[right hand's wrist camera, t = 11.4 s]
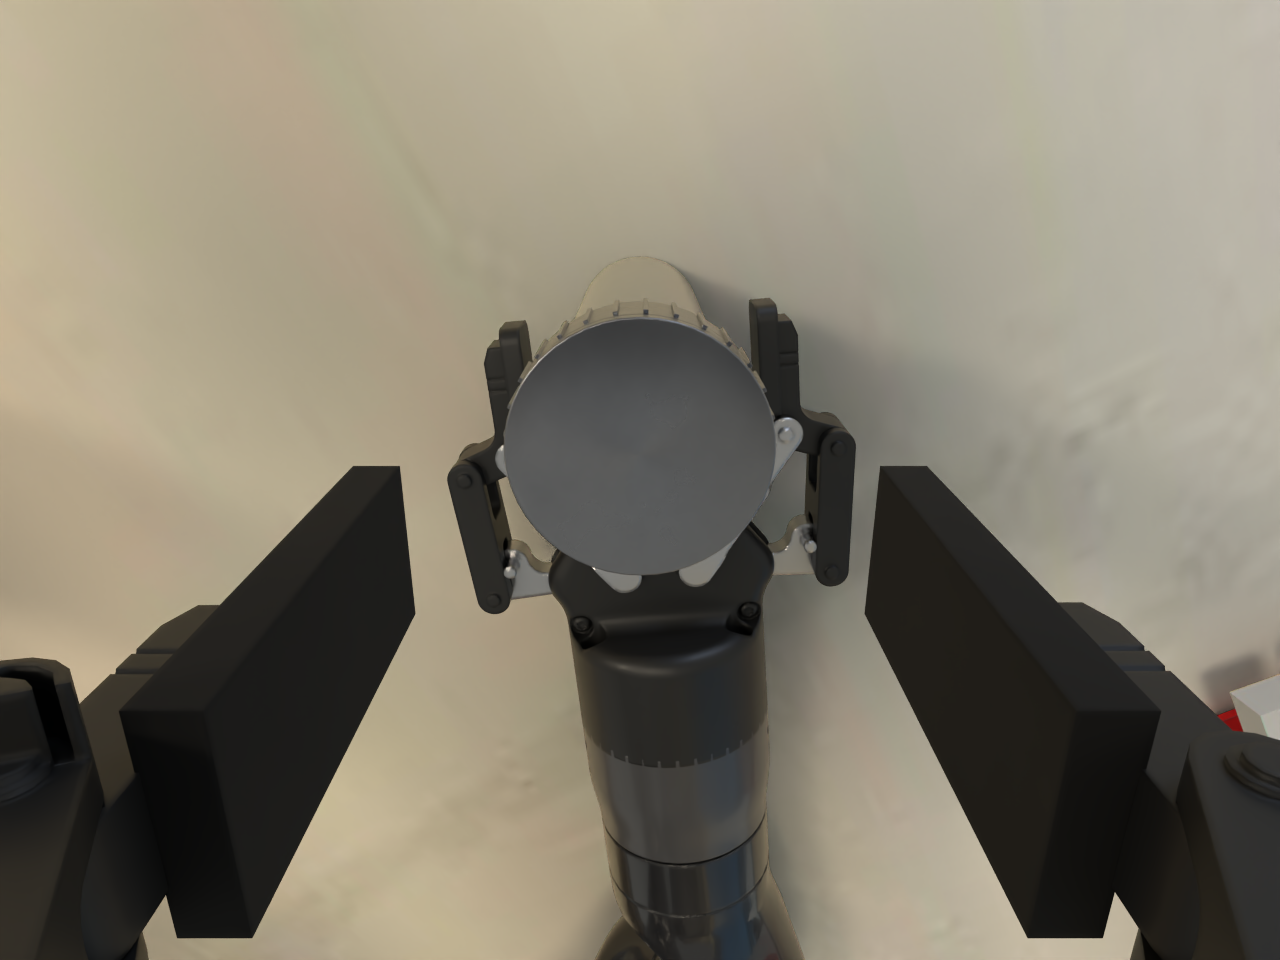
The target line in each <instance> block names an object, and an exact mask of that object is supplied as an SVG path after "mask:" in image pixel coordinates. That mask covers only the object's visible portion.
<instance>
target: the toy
mask: <svg viewBox="0 0 1280 960" xmlns="http://www.w3.org/2000/svg"><path fill="white" fill-rule="evenodd" d="M1230 695H1231V698H1232V701H1233V704H1234V706H1235V709H1233V710H1230V711H1228V712H1225V713H1222V714H1220V715H1217V716H1218V717H1219V718H1220V719H1221V720H1222V721H1223V722H1224V723H1225V724H1226V725H1227V726H1229V727H1230V728H1231V729H1232V730H1233V731H1241V732H1250V733H1257V734H1260V735H1264V736H1267V737H1271V738H1274V739H1277V740H1280V674H1278V675H1275V676H1273V677H1270V678H1267V679H1264V680H1262V681H1259V682H1256V683H1253V684H1250V685H1248V686H1245V687H1242V688H1239V689H1236V690H1234V691H1231V692H1230Z"/></svg>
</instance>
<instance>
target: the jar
mask: <svg viewBox="0 0 1280 960" xmlns="http://www.w3.org/2000/svg"><path fill="white" fill-rule="evenodd" d="M643 298H648V302H659V303H664V304H669V305H671V303H672V302H674V303H676V305H677V307H679V308H682V309H685V310H688V311H690V312H692V313H694V314H696V315H697V314H698V312H700V313H702V314H703V312H702V310H701V308H700V305H699V303H698V301H697V298H696V296H695V294H694V292H693V289H692V287H691V286H690V284H689V282H688V281H687V280H686V278H685V277H684V276H683V275H682V274H681V273H680V272H679V271H678V270H677V269H675V268H674V267H673V266H671V265H670V264H668V263H666V262H664V261H661V260H658V259H655V258H650V257H641V256H639V257H630V258H625V259H622V260H619V261H616V262H614V263H612V264H610V265H609V266H607V267H606V268H605V269H603V270H602V271H601V272H600V273H599V274H598V275H597V276H596V277H595V278H594V280H593V281H592V282H591V284H590V286H589V287H588V289H587V292H586V294H585V296H584V298H583V301H582V303H581V305H580V308H579V310H578V312H577V315H576V317H575V319H576V318H578V317H580V316H582V315H584V314H586V311H587V309H588V308H592V310H595V309H598V308H601V307H604V306H607V305H612V304H614V301H615V300H619V302H620V303H621V302H633V301H643ZM703 316H704V315H703ZM704 319H705V317H704Z"/></svg>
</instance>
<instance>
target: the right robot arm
mask: <svg viewBox="0 0 1280 960" xmlns="http://www.w3.org/2000/svg"><path fill="white" fill-rule="evenodd" d="M414 615H415V606H414V596H413V587H412V577H411V568H410V559H409V549H408V540H407V530H406V521H405V511H404V502H403V493H402V483H401V474H400V466H353V467H352V468H351V469H350V470H349V471H348V472H347V473H346V474H345V475H344V476H343V477H342V478H341V479H340V480H339V481H338V483H337V484H336V485H335V486H334V487H333V488H332V489H331V490H330V491H329V492H328V493H327V494H326V495H325V496H324V497H323V498H322V499H321V500H320V501H319V502H318V503H317V504H316V505H315V506H314V508H313V509H312V510H311V511H310V512H309V513H308V514H307V515H306V516H305V517H304V518H303V519H302V520H301V521H300V522H299V523H298V524H297V525H296V526H295V527H294V528H293V529H292V530H291V532H290V533H289V534H288V535H287V536H286V537H285V538H284V539H283V540H282V541H281V542H280V543H279V544H278V545H277V546H276V547H275V548H274V549H273V550H272V551H271V552H270V553H269V554H268V556H267V557H266V558H265V559H264V560H263V561H262V562H261V563H260V564H259V565H258V566H257V567H256V568H255V569H254V570H253V571H252V572H251V573H250V574H249V575H248V576H247V577H246V578H245V580H244V581H243V582H242V583H241V584H240V585H239V586H238V587H237V588H236V589H235V590H234V591H233V592H232V593H231V594H230V595H229V596H228V597H227V598H226V599H225V600H224V601H223V602H222V604H221V605H198V606H196V607H194V608H192V609H191V610H189V611H187V612H185V613H183V614H182V615H180V616H178V617H176V618H174V619H172V620H171V621H169V622H167V623H165V624H163V625H161V626H160V627H159V628H158V629H157V630H156V631H155V632H154V633H153V634H152V635H151V636H150V637H149V638H148V639H147V640H146V641H145V642H144V643H143V644H142V645H141V646H139V647H138V648H137V652H136V654H131V655H130V656H129V657H128V658H127V659H126V660H125V661H124V662H123V663H122V664H121V665H120V666H119V667H118V668H117V669H116V673H115V674H110V675H109V676H108V677H107V678H106V679H105V680H104V681H103V682H102V683H101V684H100V685H99V686H98V687H97V688H96V689H95V690H94V691H93V692H91V693H90V694H89V695H88V696H87V697H86V698H85V699H84V700H83V701H82V702H81V703H80V704H79V701H78V698H77V694H76V690H75V687H74V683H73V680H72V676H71V672H70V669H69V668H67V667H66V666H64V665H63V664H61V663H59V662H58V661H56V660H48V659H40V658H24V659H14V660H4V661H0V960H149V959H148V952H147V947H146V943H145V940H144V936H143V933H142V931H143V929H144V928H145V926H146V925H147V923H148V922H149V920H150V918H151V917H152V915H153V914H154V912H155V911H156V909H157V908H158V906H159V905H160V903H161V902H162V900H163V898H164V897H165V895H166V897H167V901H168V905H169V908H170V912H171V916H172V920H173V924H174V928H175V932H176V936H177V938H253V936H254V934H255V932H256V930H257V928H258V926H259V924H260V922H261V920H262V918H263V916H264V914H265V912H266V910H267V908H268V906H269V904H270V902H271V900H272V898H273V896H274V894H275V892H276V890H277V888H278V886H279V884H280V882H281V880H282V878H283V876H284V874H285V872H286V870H287V868H288V866H289V864H290V862H291V860H292V858H293V856H294V854H295V852H296V850H297V848H298V846H299V844H300V842H301V840H302V838H303V836H304V834H305V832H306V830H307V828H308V826H309V824H310V822H311V820H312V818H313V816H314V814H315V812H316V810H317V808H318V806H319V804H320V802H321V800H322V798H323V796H324V794H325V792H326V790H327V788H328V787H329V785H330V783H331V781H332V779H333V777H334V775H335V773H336V771H337V769H338V767H339V765H340V763H341V761H342V759H343V757H344V755H345V753H346V751H347V749H348V747H349V745H350V743H351V741H352V739H353V737H354V735H355V733H356V731H357V729H358V727H359V725H360V723H361V721H362V719H363V717H364V715H365V713H366V711H367V709H368V707H369V705H370V703H371V701H372V699H373V697H374V695H375V693H376V691H377V689H378V687H379V685H380V683H381V681H382V679H383V677H384V675H385V673H386V671H387V669H388V667H389V665H390V663H391V661H392V659H393V657H394V655H395V653H396V651H397V649H398V647H399V645H400V643H401V641H402V639H403V637H404V635H405V633H406V631H407V629H408V627H409V625H410V623H411V621H412V619H413V617H414ZM865 615H866V617H867V619H868V621H869V623H870V625H871V627H872V629H873V631H874V633H875V635H876V637H877V639H878V641H879V643H880V645H881V647H882V649H883V651H884V653H885V655H886V657H887V659H888V661H889V663H890V665H891V667H892V669H893V671H894V673H895V675H896V677H897V679H898V681H899V683H900V685H901V687H902V689H903V691H904V693H905V695H906V697H907V699H908V701H909V703H910V705H911V707H912V709H913V711H914V713H915V715H916V717H917V719H918V721H919V723H920V725H921V727H922V729H923V731H924V733H925V735H926V737H927V739H928V741H929V743H930V745H931V747H932V749H933V751H934V753H935V755H936V757H937V759H938V761H939V763H940V765H941V767H942V769H943V771H944V773H945V775H946V777H947V779H948V781H949V783H950V785H951V787H952V788H953V790H954V792H955V794H956V796H957V798H958V800H959V802H960V804H961V806H962V808H963V810H964V812H965V814H966V816H967V818H968V820H969V822H970V824H971V826H972V828H973V830H974V832H975V834H976V836H977V838H978V840H979V842H980V844H981V846H982V848H983V850H984V852H985V854H986V856H987V858H988V860H989V862H990V864H991V866H992V868H993V870H994V872H995V874H996V876H997V878H998V880H999V882H1000V884H1001V886H1002V888H1003V890H1004V892H1005V894H1006V896H1007V898H1008V900H1009V902H1010V904H1011V906H1012V908H1013V910H1014V912H1015V914H1016V916H1017V918H1018V920H1019V922H1020V924H1021V926H1022V928H1023V930H1024V932H1025V934H1026V936H1027V938H1103V936H1104V932H1105V928H1106V924H1107V920H1108V916H1109V912H1110V908H1111V905H1112V901H1113V897H1114V893H1116V894H1117V896H1118V897H1119V899H1120V900H1121V902H1122V903H1123V905H1124V906H1125V908H1126V909H1127V911H1128V912H1129V914H1130V915H1131V917H1132V918H1133V920H1134V922H1135V923H1136V925H1137V926H1138V928H1139V929H1138V933H1137V936H1136V940H1135V943H1134V947H1133V951H1132V954H1131V958H1130V960H1280V740H1277V739H1274V738H1271V737H1267V736H1264V735H1260V734H1257V733H1250V732H1241V731H1233V730H1232V729H1231V728H1230V727H1229V726H1227V725H1226V724H1225V723H1224V722H1223V721H1222V720H1221V719H1220V718H1219V717H1218V716H1217V715H1216V714H1215V713H1214V712H1213V711H1212V710H1211V709H1210V708H1209V707H1208V706H1206V705H1205V704H1204V703H1203V702H1202V701H1201V700H1200V699H1199V698H1198V697H1197V696H1196V695H1195V694H1194V693H1193V692H1192V691H1191V690H1190V689H1189V688H1188V687H1186V686H1185V685H1184V684H1183V683H1182V682H1181V681H1180V680H1179V679H1178V678H1177V677H1176V676H1175V675H1174V674H1173V673H1172V672H1171V671H1165V666H1164V665H1163V664H1162V663H1161V662H1160V661H1159V660H1158V659H1157V658H1156V657H1155V656H1154V655H1153V654H1152V653H1151V652H1150V651H1145V650H1144V646H1143V645H1142V644H1141V643H1140V642H1139V641H1138V640H1137V639H1136V638H1135V637H1134V636H1133V635H1132V634H1131V633H1130V632H1129V631H1128V630H1127V629H1125V628H1124V627H1123V626H1122V625H1121V624H1120V623H1119V622H1117V621H1115V620H1114V619H1112V618H1110V617H1108V616H1106V615H1104V614H1102V613H1101V612H1099V611H1097V610H1095V609H1093V608H1091V607H1090V606H1088V605H1086V604H1084V603H1058V602H1057V601H1056V600H1055V599H1054V598H1053V597H1052V596H1051V595H1050V594H1049V593H1048V592H1047V591H1046V590H1045V589H1044V588H1043V587H1042V586H1041V585H1040V584H1039V583H1038V582H1037V581H1036V580H1035V578H1034V577H1033V576H1032V575H1031V574H1030V573H1029V572H1028V571H1027V570H1026V569H1025V568H1024V567H1023V566H1022V565H1021V564H1020V563H1019V562H1018V561H1017V560H1016V559H1015V558H1014V557H1013V556H1012V554H1011V553H1010V552H1009V551H1008V550H1007V549H1006V548H1005V547H1004V546H1003V545H1002V544H1001V543H1000V542H999V541H998V540H997V539H996V538H995V537H994V536H993V535H992V534H991V533H990V532H989V530H988V529H987V528H986V527H985V526H984V525H983V524H982V523H981V522H980V521H979V520H978V519H977V518H976V517H975V516H974V515H973V514H972V513H971V512H970V511H969V510H968V509H967V508H966V506H965V505H964V504H963V503H962V502H961V501H960V500H959V499H958V498H957V497H956V496H955V495H954V494H953V493H952V492H951V491H950V490H949V489H948V488H947V487H946V486H945V485H944V484H943V483H942V481H941V480H940V479H939V478H938V477H937V476H936V475H935V474H934V473H933V472H932V471H931V470H930V469H929V468H928V467H927V466H880V474H879V483H878V493H877V502H876V511H875V521H874V530H873V540H872V549H871V558H870V568H869V577H868V587H867V596H866V606H865Z"/></svg>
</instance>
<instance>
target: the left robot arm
mask: <svg viewBox="0 0 1280 960" xmlns="http://www.w3.org/2000/svg"><path fill="white" fill-rule="evenodd" d="M749 320H750V340H751V360H752V365H753V366H752V371H756V372H757V374H758V375H759V377H760V379H761V381H762V382H763V384H764V386H765V388H766V390H767V392H765V393H764V394H765V396H766V398H767V401H768V403H769V406H770V408H771V410H772V412H773V414H774V416H775V419H774V420H773V421H774V427H775V434H776V443H777V446H776V457H775V465H774V471H773V475H772V479H771V483H770V486H769V489H768V491H767V493H766V496H765V498H764V501H765V499H766V498H767V496H768V494H769V492H770V489H771V485H772V483H773V481H774V479H775V477H776V476H777V475H778V473H779V472H780V471H781V469H782V468H783V466H784V465H785V464H786V462H787V461H788V459H789V458H790V457H791V455H792V454H793V453H794V451H799V452H803V453H807V465H806V491H805V514H803V515H798V516H796V517H794V518H793V519H791V521H790V522H789V524H788V526H787V531H786V534H785V535H784V537H783V538H782V539H781V540H779V541H777V542H774V543H769V542H768V540H767V539H766V537H765V536H764V535H763V533H762V532H761V531H760V530H759V529H758V528H757V527H756V526H755V525H754V523H753V522H752V521H750V523H749V524H748V525H747V526H746V528H745V529H744V530H743V531H742V532H741V533H740V534H739V535H738V536H737V537H736V538H735V539H734V540H733V541H732V542H731V543H729V544H728V545H727V546H725V547H724V548H723V549H722V550H720V551H719V552H717V553H716V554H714V555H712V556H711V557H709V558H707V559H705V560H703V561H701V562H699V563H697V564H694V565H692V566H690V567H687V568H683V569H680V570H677V571H674V572H668V573H663V574H657V575H641V576H640V575H623V574H618V573H612V572H607V571H603V570H600V569H597V568H593V567H590V566H588V565H586V564H583V563H581V562H579V561H577V560H575V559H573V558H571V557H570V556H568V555H566V554H564V553H563V552H561V551H560V550H558V549H557V550H556V551H555V553H554V555H553V557H552V561H551V562H542V561H539V560H538V559H536V558H535V557H534V556H533V554H532V552H531V550H530V548H529V546H528V545H527V544H526V543H524V542H523V541H520V540H512V538H511V534H510V529H509V525H508V521H507V516H506V512H505V508H504V503H503V499H502V495H501V490H500V486H499V482H498V480H500V479H502V478H504V477H506V476H507V477H508V475H507V472H506V465H505V458H504V436H503V432H504V430H505V427H506V420H507V417H508V413H509V410H510V409H508V408H507V407H508V404H509V402H510V400H511V399H512V397H513V395H514V393H515V391H516V390H517V388H518V386H520V384H521V383H520V382H518V380H519V378H520V376H521V374H522V373H523V371H524V369H525V367H526V366H527V364H528V362H529V361H530V362H533V360H532V353H531V346H530V339H529V332H528V327H527V323H526V321H525V320H524V321H514V322H505V323H504V325H503V326H502V327H501V328H500V330H499V340H494V341H493V342H492V344H491V345H490V346H489V347H488V349H487V353H486V357H485V361H484V366H485V373H486V379H487V385H488V390H489V397H490V403H491V409H492V416H493V422H494V428H495V435H494V436H493V437H492V438H490V439H488V440H486V441H483V442H481V443H479V444H478V443H473V444H470V445H468V446H466V447H465V448H464V450H463V451H462V453H461V454H460V456H459V459H458V461H457V463H456V464H455V465H454V466H453V467H452V469H451V470H450V472H449V474H448V477H447V481H448V486H449V490H450V494H451V498H452V502H453V506H454V510H455V514H456V517H457V521H458V525H459V529H460V533H461V537H462V541H463V545H464V549H465V553H466V557H467V561H468V565H469V569H470V573H471V577H472V581H473V584H474V588H475V592H476V596H477V600H478V604H479V606H480V607H481V608H482V609H483V610H484V611H485V612H488V613H490V614H499V613H502V612H504V611H505V610H506V609H507V608H508V607H509V604H510V601H511V600H513V599H520V598H527V597H534V596H541V595H548V594H553V595H554V597H555V598H556V599H557V600H558V601H559V603H560V604H561V605H562V607H563V609H564V610H565V613H566V615H567V619H568V624H569V631H570V638H571V645H572V652H573V659H574V666H575V673H576V680H577V687H578V694H579V700H580V708H581V715H582V722H583V729H584V736H585V742H586V749H587V756H588V763H589V769H590V774H591V779H592V783H593V786H594V790H595V793H596V796H597V799H598V802H599V805H600V809H601V813H602V820H603V827H604V834H605V841H606V849H607V856H608V863H609V869H610V875H611V881H612V886H613V891H614V895H615V898H616V901H617V903H618V906H619V908H620V910H621V912H622V914H623V916H622V917H621V918H620V919H619V920H618V921H617V922H616V924H615V925H614V926H613V928H612V929H611V931H610V932H609V934H608V935H607V937H606V938H605V940H604V942H603V944H602V946H601V948H600V950H599V952H598V954H597V956H596V958H595V960H805V959H804V956H803V953H802V950H801V947H800V945H799V942H798V939H797V936H796V934H795V931H794V928H793V926H792V923H791V920H790V917H789V915H788V912H787V909H786V906H785V904H784V901H783V898H782V895H781V893H780V891H779V889H778V887H777V884H776V882H775V880H774V878H773V876H772V874H771V871H770V868H769V845H768V826H767V807H766V791H767V782H768V775H769V729H768V710H767V688H766V668H765V648H764V628H763V608H762V600H763V595H764V591H765V589H766V586H767V584H768V583H769V581H770V579H771V577H772V575H794V574H815V575H816V578H817V580H818V581H819V582H820V583H821V584H823V585H825V586H836V585H839V584H841V583H842V582H843V581H844V580H845V579H846V578H847V576H848V571H849V554H850V537H851V520H852V503H853V486H854V469H855V451H856V444H855V441H854V439H853V437H852V436H851V435H850V433H849V432H848V431H847V430H846V428H845V427H844V426H843V425H842V423H841V422H840V421H839V419H838V418H837V417H836V416H835V415H833V414H831V413H828V412H822V413H817V412H813V411H809V410H806V409H803V408H802V407H801V406H800V392H799V365H798V362H799V358H798V334H797V332H796V330H795V328H794V325H793V323H792V321H791V320H790V319H789V318H788V317H787V316H786V315H785V314H777V307H776V304H775V303H774V302H773V301H772V300H771V299H770V298H764V299H753V300H749ZM764 501H763V502H764ZM763 502H762V504H763ZM762 504H761V505H762Z"/></svg>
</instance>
